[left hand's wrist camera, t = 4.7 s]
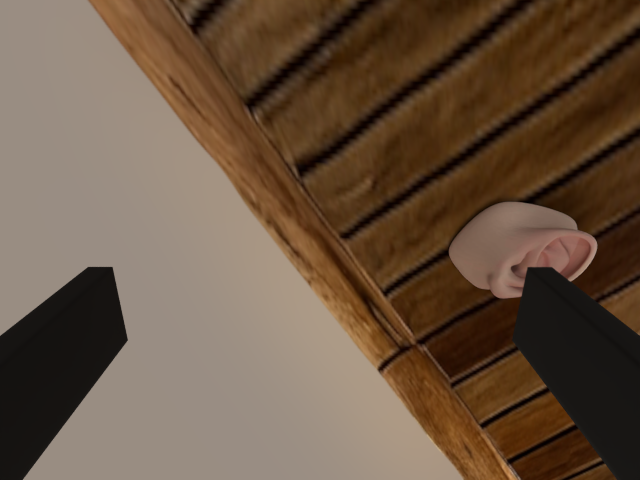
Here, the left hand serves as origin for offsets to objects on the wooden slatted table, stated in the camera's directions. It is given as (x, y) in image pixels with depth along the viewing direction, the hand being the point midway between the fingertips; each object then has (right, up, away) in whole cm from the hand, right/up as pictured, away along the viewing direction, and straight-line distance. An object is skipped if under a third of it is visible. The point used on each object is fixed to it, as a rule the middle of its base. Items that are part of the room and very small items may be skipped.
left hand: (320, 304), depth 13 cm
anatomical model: (+22, +1, +32) cm, 39 cm away
